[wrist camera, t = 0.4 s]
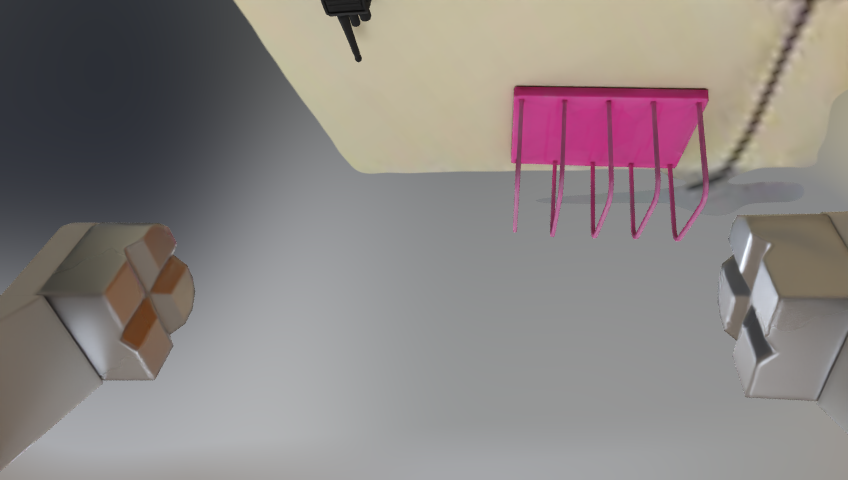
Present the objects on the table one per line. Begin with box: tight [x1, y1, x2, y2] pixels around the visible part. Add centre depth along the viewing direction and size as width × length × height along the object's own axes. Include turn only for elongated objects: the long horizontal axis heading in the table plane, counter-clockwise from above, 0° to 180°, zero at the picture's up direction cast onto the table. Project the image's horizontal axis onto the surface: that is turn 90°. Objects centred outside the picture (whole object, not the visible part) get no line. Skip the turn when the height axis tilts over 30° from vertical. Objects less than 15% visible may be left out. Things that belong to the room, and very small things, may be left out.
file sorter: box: [511, 87, 709, 241], centre depth 90 cm, size 17×25×16 cm
